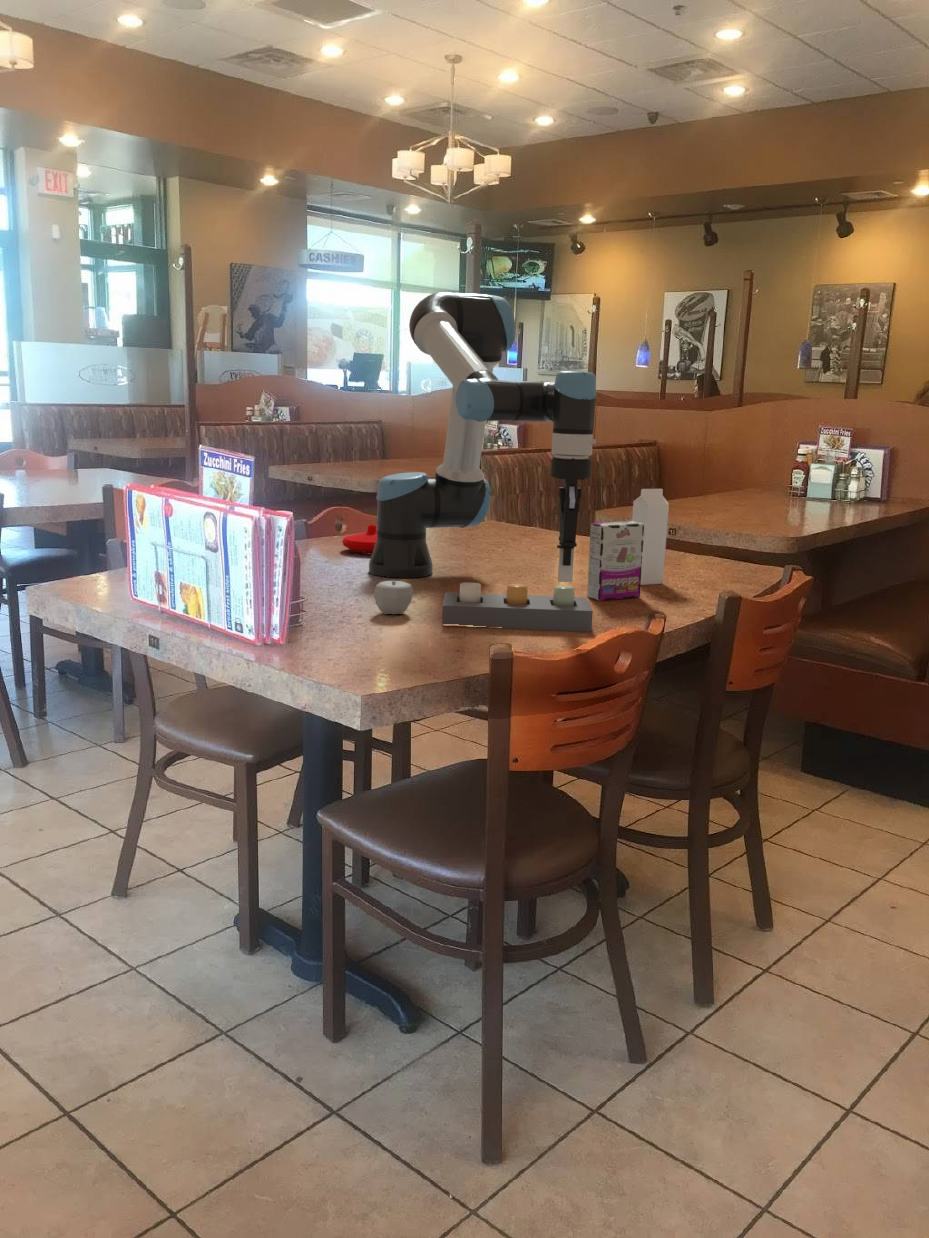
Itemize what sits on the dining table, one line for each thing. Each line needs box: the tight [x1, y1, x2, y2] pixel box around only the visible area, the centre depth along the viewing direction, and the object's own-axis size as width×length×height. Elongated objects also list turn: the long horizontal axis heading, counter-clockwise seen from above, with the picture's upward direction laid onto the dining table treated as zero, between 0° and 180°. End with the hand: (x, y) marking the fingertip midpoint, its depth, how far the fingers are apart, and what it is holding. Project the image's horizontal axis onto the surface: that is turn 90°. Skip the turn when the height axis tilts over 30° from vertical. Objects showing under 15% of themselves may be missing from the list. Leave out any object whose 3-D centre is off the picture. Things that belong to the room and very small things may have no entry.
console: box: [441, 592, 594, 633], centre depth 193 cm, size 28×12×4 cm, turn 89°
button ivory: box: [459, 581, 482, 603], centre depth 192 cm, size 4×4×4 cm
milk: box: [631, 488, 670, 586], centre depth 234 cm, size 6×6×22 cm
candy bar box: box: [586, 520, 644, 602], centre depth 216 cm, size 11×5×16 cm, turn 117°
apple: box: [373, 580, 414, 615], centre depth 196 cm, size 8×8×7 cm
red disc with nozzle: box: [341, 524, 377, 554], centre depth 265 cm, size 16×16×7 cm
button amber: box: [506, 583, 529, 605], centre depth 192 cm, size 4×4×4 cm
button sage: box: [552, 585, 576, 606], centre depth 192 cm, size 4×4×4 cm
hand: (564, 581), depth 191 cm, fingers closed
